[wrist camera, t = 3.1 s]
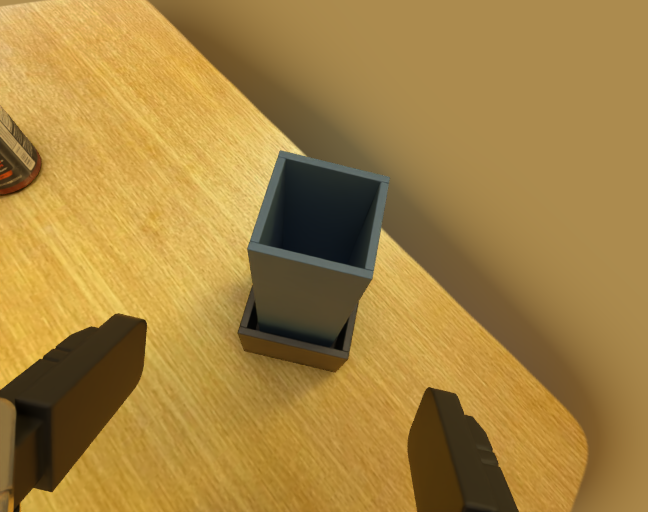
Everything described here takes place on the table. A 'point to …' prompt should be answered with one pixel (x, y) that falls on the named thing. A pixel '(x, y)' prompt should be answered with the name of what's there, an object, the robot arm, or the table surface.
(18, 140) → the supplement bottle
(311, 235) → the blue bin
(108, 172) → the table surface
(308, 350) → the charcoal bin
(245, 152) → the table surface
